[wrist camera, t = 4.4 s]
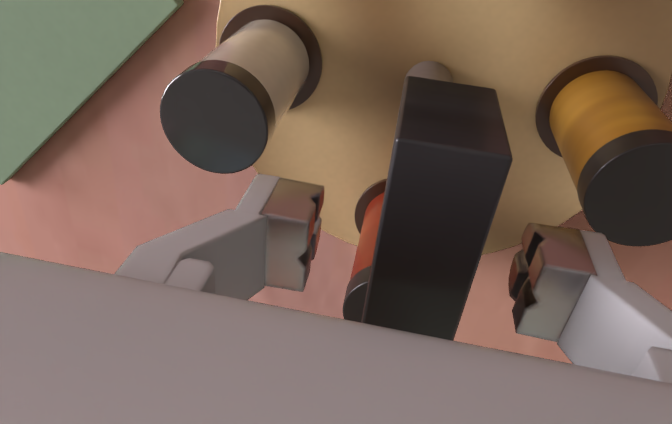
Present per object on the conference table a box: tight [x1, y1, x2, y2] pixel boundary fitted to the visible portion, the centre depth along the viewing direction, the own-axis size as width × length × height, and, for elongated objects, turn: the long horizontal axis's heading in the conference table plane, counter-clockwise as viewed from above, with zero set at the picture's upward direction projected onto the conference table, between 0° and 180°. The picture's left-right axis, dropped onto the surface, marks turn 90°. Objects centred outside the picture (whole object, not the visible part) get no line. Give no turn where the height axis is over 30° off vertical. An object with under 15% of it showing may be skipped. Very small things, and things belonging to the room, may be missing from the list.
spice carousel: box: [216, 0, 672, 341], centre depth 15 cm, size 16×16×13 cm
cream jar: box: [160, 19, 309, 174], centre depth 17 cm, size 3×3×6 cm
